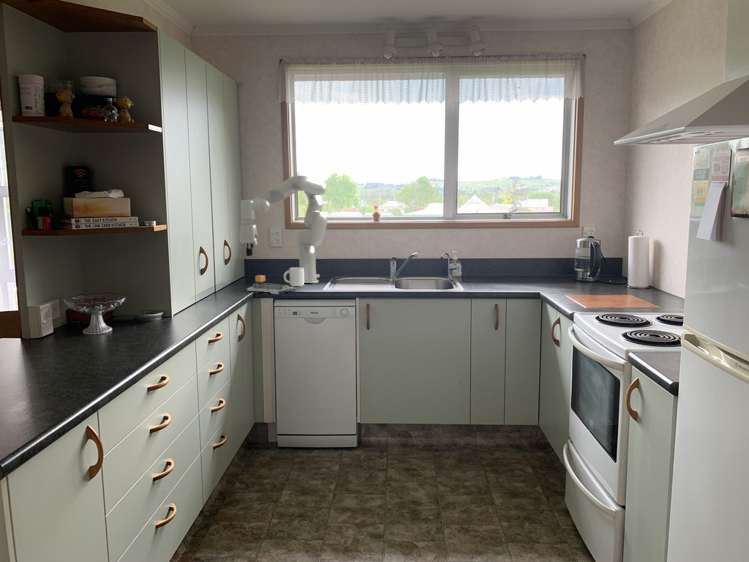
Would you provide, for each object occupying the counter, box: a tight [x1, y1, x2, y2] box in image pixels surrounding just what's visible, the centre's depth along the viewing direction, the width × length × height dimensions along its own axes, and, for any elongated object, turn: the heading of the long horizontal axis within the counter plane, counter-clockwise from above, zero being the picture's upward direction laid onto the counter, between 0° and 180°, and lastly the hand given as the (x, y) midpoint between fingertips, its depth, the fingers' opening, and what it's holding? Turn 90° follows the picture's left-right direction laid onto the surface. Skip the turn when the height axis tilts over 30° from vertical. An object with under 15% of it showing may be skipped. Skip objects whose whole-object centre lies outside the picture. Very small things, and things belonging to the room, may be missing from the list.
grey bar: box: [279, 287, 297, 295], centre depth 324 cm, size 13×1×1 cm, turn 151°
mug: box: [283, 266, 305, 287], centre depth 346 cm, size 12×8×10 cm
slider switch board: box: [246, 282, 295, 295], centre depth 330 cm, size 14×21×4 cm, turn 61°
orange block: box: [254, 274, 266, 285], centre depth 333 cm, size 4×4×6 cm
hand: (249, 255), depth 334 cm, fingers closed
